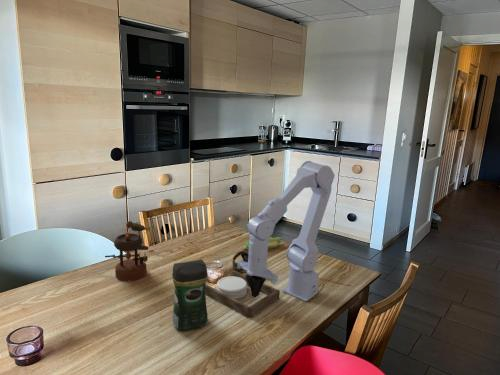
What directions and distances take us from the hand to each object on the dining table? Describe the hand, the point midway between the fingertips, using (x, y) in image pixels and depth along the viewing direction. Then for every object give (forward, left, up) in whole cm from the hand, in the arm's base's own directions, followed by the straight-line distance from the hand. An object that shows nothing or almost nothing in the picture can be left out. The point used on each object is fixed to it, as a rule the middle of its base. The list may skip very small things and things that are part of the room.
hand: (255, 295), depth 114 cm
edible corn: (+24, -37, -3) cm, 44 cm away
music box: (+44, +17, -3) cm, 47 cm away
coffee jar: (+7, +21, -3) cm, 22 cm away
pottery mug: (+18, -17, -3) cm, 25 cm away
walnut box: (+6, 0, -3) cm, 7 cm away
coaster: (+10, 0, -3) cm, 10 cm away
